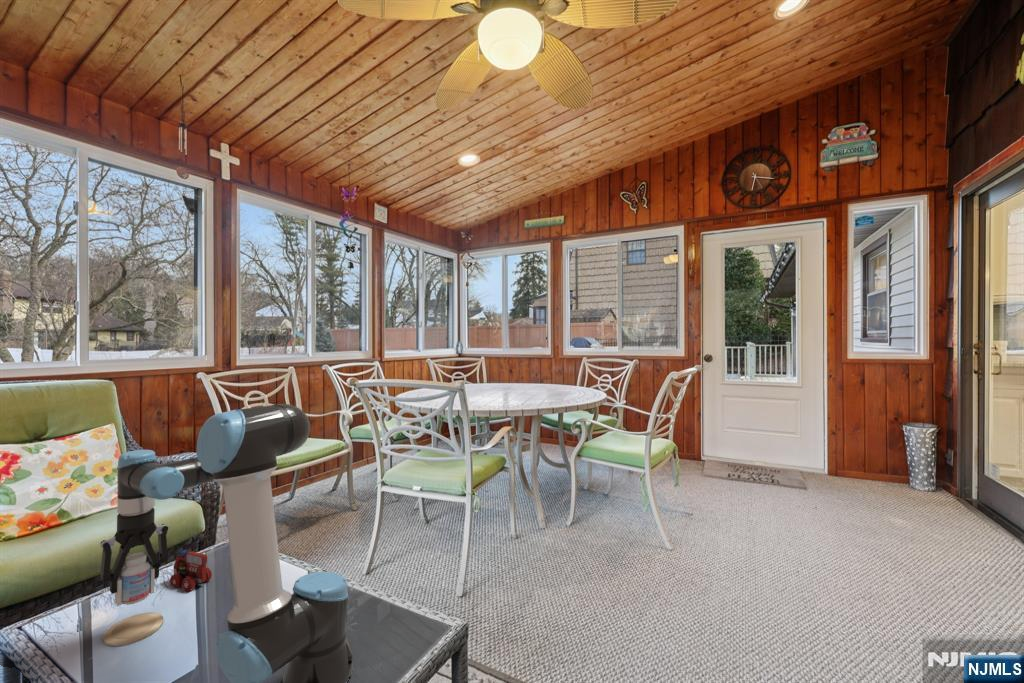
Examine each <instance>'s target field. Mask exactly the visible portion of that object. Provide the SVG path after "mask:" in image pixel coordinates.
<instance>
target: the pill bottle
mask: <svg viewBox="0 0 1024 683" xmlns="http://www.w3.org/2000/svg"><path fill="white" fill-rule="evenodd" d="M147 558H148V555H147V553H146V552H141V551H140V552H134V553H132V554H128V555H127V557H126V560H125V562H124V565H123V567H122V570H121V573H120V575H119V577H120V578H121V579H122V605H135V604H137V603H140V602H142V601H144V600H146V598H148V596H150V566H151V565H150V564H151V563H150V561H147Z"/></svg>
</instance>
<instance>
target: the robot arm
mask: <svg viewBox="0 0 1024 683" xmlns="http://www.w3.org/2000/svg"><path fill="white" fill-rule="evenodd" d="M199 430H200V431H199V432H198V436H197V441H196V456H194V457H192V458H186V459H185V458H184V459H181V460H178V461H172V462H167V463H162V464H161V463H157V462H156V461H157V456H156V452H155V450H152V449H136V450H131V451H126V452H123V453H122V454H120V456H119V457H118V462H117V468H116V470H117V504H116V505H117V506H116V507H117V508H116V511H117V516H116V533H115V534H114V536H113V537H111V538H109V539H107V540H106V539H104V540H102V541H100V546H101V549H102V555H101V563H100V564H101V565H100V574H99V578H100V580H101V582H103V583H107V582H109V592H110V593H111V594H112V595H113V594H114V603H115V604H116V606H117V607H120V606H122V605H123V604H122V579H121V578H120V573H121V570H122V568H123V567H124V566H125V565H124V562H125V560H126V557H127V556H128V555H129V553H130V551H131V549H133V548H136V547H138V546H143V548H144V551H145V553H146V554H147V558H148V560H149V563H150V564H151V565H150V593H149V595H150V594H151V595H152V594H154V593H155V580H156V579H158V578H159V577H160V567H161V566H162V564H163V563H167V562H168V560H169V555H168V544H167V542H168V541H167V534H168V530H169V526H167V525H166V524H165V523H162V524H160V525H157V524H155V513H156V512H155V508H154V507H155V505H156V500H160V501H162V500H168V499H171V498H173V497H175V496H176V495H177V494H178V493H180V492H181V491H182V490H186V489H189V488H192V487H196V486H201V485H204V484H208V483H212V482H216V483H217V484H219V485H221V486H222V488H223V498H224V507H225V509H224V510H225V517H226V528H227V536H228V537H227V538H228V546H229V547H228V548H229V557H230V568H231V580H232V587H233V589H232V590H233V596H234V606H233V607H232V609H231V610H230V611H229V612H228V614H227V617H226V619H227V628H228V630H225V631H223V632H222V634H220V635H219V637H218V639H217V641H216V644H215V654H216V658H217V662H218V665H219V667H220V669H221V671H222V672H223V675H224V676H226V678H227V680H228V681H229V682H231V683H262V682H263V681H265V680H267V679H269V678H271V677H272V676H273V675H274V674H275V673H277V671H279V670H281V669H282V668H283V667H284V666H286V667H285V668H284V671H283V675H282V683H345V682H346V681H347V680H348V679H349V677H350V676H351V673H352V674H353V672H352V670H353V671H354V656H353V653H352V650H351V647H350V644H349V641H348V639H347V627H348V626H347V621H348V620H347V619H348V600H349V593H348V582H347V580H346V578H345V577H344V576H342V575H341V574H340V573H337V572H333V571H317V572H311V573H307V574H305V575H302V576H300V577H299V578H297V579H296V580H295V582H294V584H293V587H292V592H293V593H291V592H289V591H288V590H285V589H284V588H283V582H282V573H281V564H280V553H279V552H280V551H279V546H278V545H279V544H278V536H277V527H276V526H277V525H276V517H275V510H274V509H275V507H274V498H273V490H272V482H271V481H272V480H271V479H272V478H271V476H272V475H273V473H274V471H276V469H277V468H278V460H277V457H280V456H283V455H287V454H290V453H293V452H295V451H296V450H298V449H300V448H301V447H302V446H304V444H305V443H306V441H308V438H309V436H310V432H311V423H310V419H309V417H308V415H307V414H306V413H305V412H304V411H303V410H302V409H301V408H299V407H298V406H295V405H292V404H286V403H275V404H272V405H264V406H257V407H256V406H255V407H250V408H249V407H248V408H239V409H233V410H229V411H228V410H227V411H225V412H219V413H216V414H214V415H212V416H210V417H209V418H207V420H205V422H204V423H203V425H202V427H201V428H200V429H199ZM155 499H156V500H155ZM154 533H156V535H157V542H158V543H157V544H158V545H157V546H158V555H159V556H158V555H157V554H156V552H155V550H154V548H153V544H152V542H151V540H150V539H151V537H152V536H153V535H154ZM116 542H117V543H118V544H119V545H120V546H119V551H118V553H117V556H116V558H115V561H114V563H113V566H112V569H111V561H112V552H113V550H112V549H113V548H114V546H115V543H116ZM157 556H158V557H157ZM351 677H352V676H351ZM349 680H350V679H349Z"/></svg>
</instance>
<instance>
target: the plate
mask: <svg viewBox="0 0 1024 683" xmlns="http://www.w3.org/2000/svg"><path fill="white" fill-rule="evenodd" d="M163 623H164V616H163V615H162V614H161V613H158V612H143V613H138V614H134V615H131V616H127V617H125V618H123V619H121V620H120V621H119V620H118V621H117V622H116V623H114V624H113V625H111V626H110V627H109V628H108V629H107V630H106V631H105V632H104V634H103V636H102V637H103V643H104V645H106V646H108V647H109V646H110V647H121V646H127V645H130V644H135V643H137V642H139V641H140V642H141V641H142V640H144V639H146V638H148V637H150V636H152V635H153V634H154V633H156V632H158V630H159V629H160V628H161V627H162V625H163Z"/></svg>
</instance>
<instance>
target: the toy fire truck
mask: <svg viewBox="0 0 1024 683" xmlns="http://www.w3.org/2000/svg"><path fill="white" fill-rule="evenodd" d="M207 563H208V555H207V554H205V553H201V552H195V551H188V550H187V549H182V550H181V551H180V552H179V554H178V555H177V557H176V559H175V562H174V564H173V574H172V575H171V576H170V578H169V583H170V586H171V587H172V588H174V589H177V588H179V587H181V588H182V589H183V591H185V592H190V591H192V590H194V588H195V587H196V585H198V584H203V583H207V582H208V581H210V580H211V579H212V576H213V574H212V570H211V569H210V568H208V567H207Z"/></svg>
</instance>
